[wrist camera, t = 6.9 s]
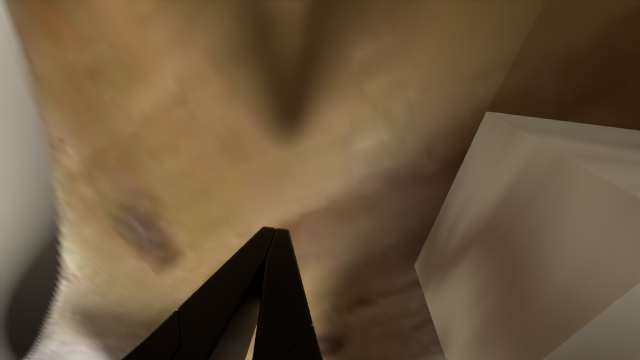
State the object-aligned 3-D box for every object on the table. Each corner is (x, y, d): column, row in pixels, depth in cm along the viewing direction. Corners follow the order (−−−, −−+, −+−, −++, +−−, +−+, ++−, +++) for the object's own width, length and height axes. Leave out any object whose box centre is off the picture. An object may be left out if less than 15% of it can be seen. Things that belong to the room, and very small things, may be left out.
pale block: (527, 276, 13) (652, 438, 8) (413, 263, 13) (465, 420, 8) (652, 131, 9) (1096, 279, 4) (484, 110, 9) (701, 233, 4)
